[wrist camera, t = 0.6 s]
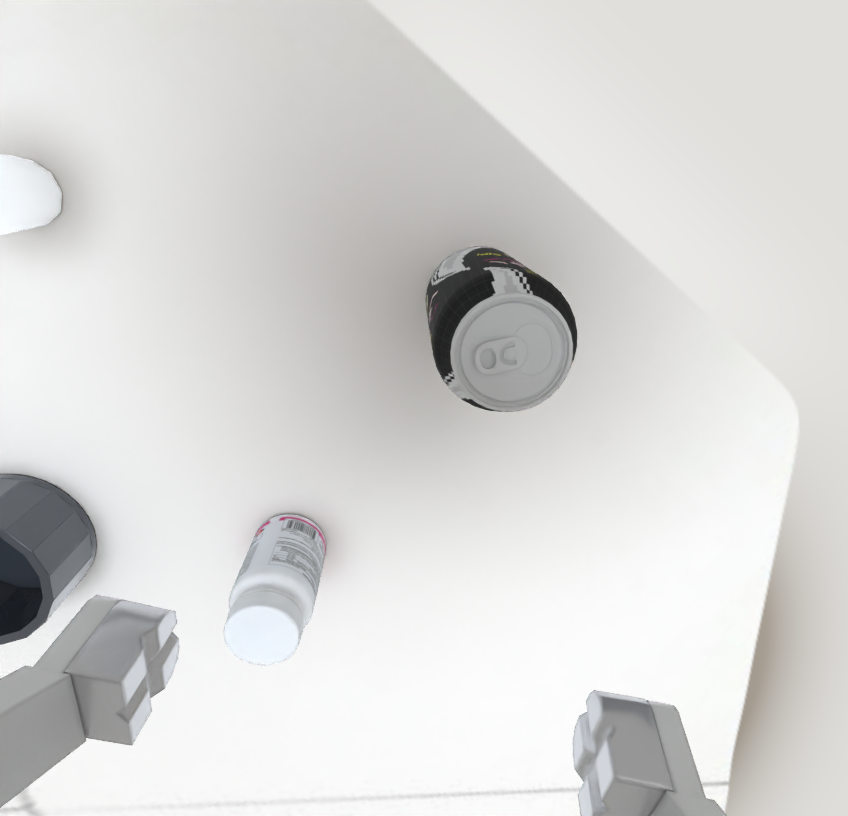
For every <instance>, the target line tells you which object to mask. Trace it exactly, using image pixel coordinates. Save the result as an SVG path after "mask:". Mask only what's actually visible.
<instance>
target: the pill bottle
mask: <svg viewBox="0 0 848 816" xmlns="http://www.w3.org/2000/svg"><path fill="white" fill-rule="evenodd" d="M325 554H326V542H325V538H324V535H323V533H322V531H321V530H320V528H319V527H318V526H317V525H316V524H315V523H313V522H312V521H310V520H309V519H307V518H305V517H302V516H298V515H290V514H288V515H280V516H276V517H273V518H271V519H269V520H267V521H266V522H265V523H264V524H263V525H262V526H261V527H260V528H259V529H258V531H257V533H256V535H255V537H254V539H253V541H252V544H251V546H250V548H249V551H248V553H247V556H246V558H245V560H244V563H243V565H242V567H241V570H240V572H239V574H238V577H237V579H236V581H235V584H234V586H233V588H232V591H231V594H230V598H229V609H230V611H229V614H228V617H227V621H226V623H225V627H224V639H225V642H226V645H227V646H228V648H229V649H230V651H231V652H232V653H233V654H234V655H235V656H237V657H238V658H240V659H242V660H244V661H246V662H249V663H253V664H257V665H271V664H276V663H279V662H282V661H284V660H286V659H287V658H289V657H290V656H291V655H292V654H293V653H294V652H295V650H296V649H297V647H298V645H299V642H300V638H301V635H302V631H303V628H304V627H305V626H306V625H307V623H308V622H309V620H310V618H311V616H312V613H313V609H314V604H315V600H316V595H317V591H318V586H319V582H320V577H321V572H322V568H323V563H324V559H325Z"/></svg>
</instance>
